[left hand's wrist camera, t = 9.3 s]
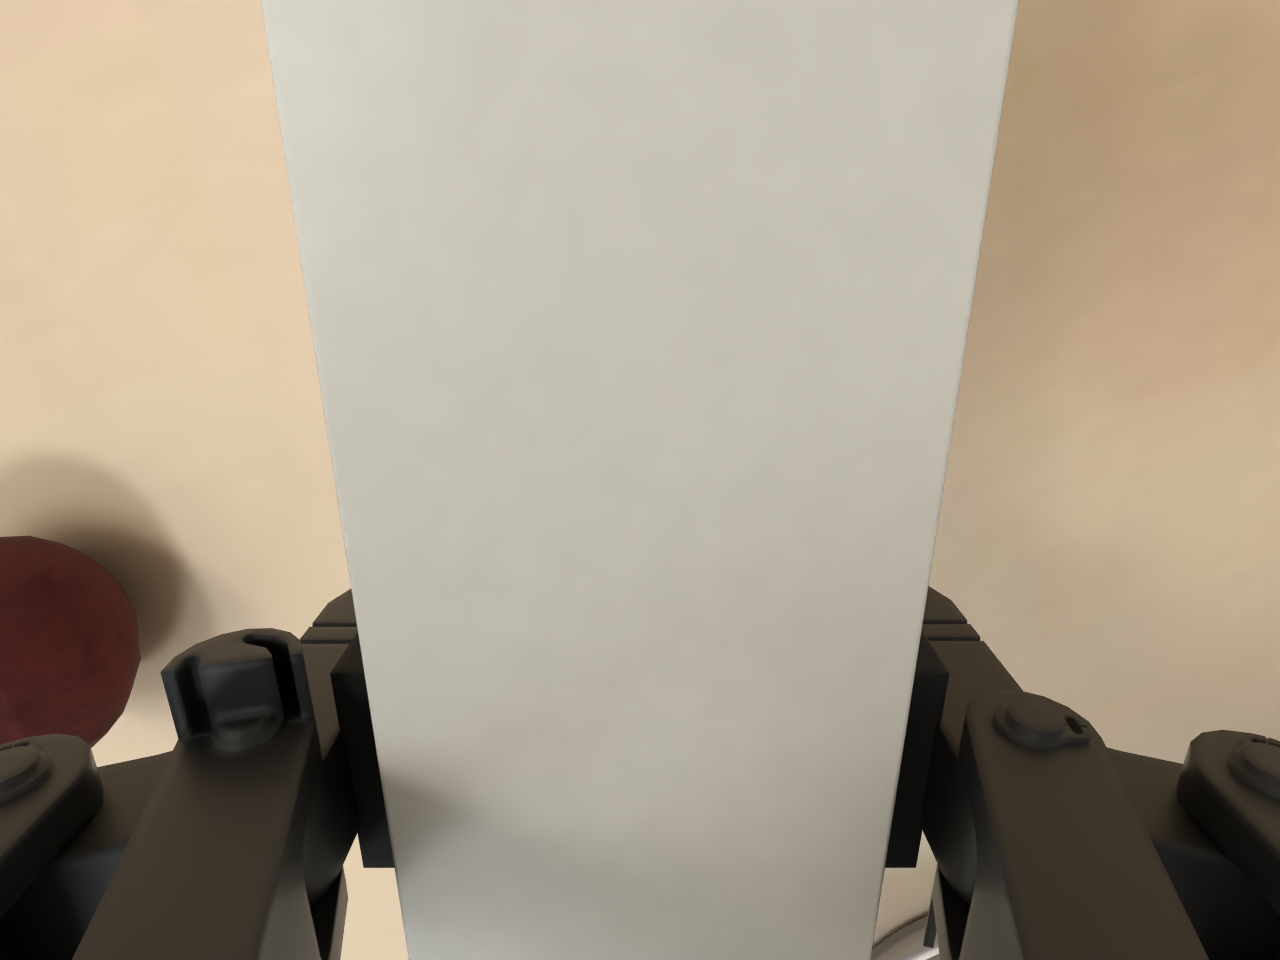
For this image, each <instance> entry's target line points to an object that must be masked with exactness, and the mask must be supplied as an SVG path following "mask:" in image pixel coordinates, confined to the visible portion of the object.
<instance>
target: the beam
mask: <svg viewBox="0 0 1280 960" xmlns="http://www.w3.org/2000/svg"><path fill="white" fill-rule="evenodd" d="M260 1H261V8H262V14H263V21H264V27H265V33H266V40H267V46H268V53H269V59H270V66H271V72H272V79H273V85H274V92H275V98H276V105H277V111H278V117H279V124H280V130H281V137H282V143H283V150H284V156H285V163H286V169H287V176H288V182H289V189H290V195H291V201H292V208H293V214H294V221H295V227H296V234H297V240H298V247H299V253H300V260H301V266H302V273H303V279H304V285H305V292H306V298H307V305H308V311H309V318H310V324H311V331H312V337H313V344H314V350H315V357H316V363H317V369H318V376H319V382H320V389H321V395H322V402H323V408H324V415H325V421H326V428H327V434H328V441H329V447H330V453H331V460H332V466H333V473H334V479H335V486H336V492H337V499H338V505H339V512H340V518H341V525H342V531H343V537H344V544H345V550H346V557H347V563H348V570H349V576H350V583H351V589H352V596H353V602H354V608H355V615H356V621H357V628H358V634H359V641H360V647H361V654H362V660H363V667H364V673H365V680H366V686H367V692H368V699H369V705H370V712H371V718H372V725H373V731H374V738H375V744H376V751H377V757H378V764H379V770H380V776H381V783H382V789H383V796H384V802H385V809H386V815H387V822H388V828H389V835H390V841H391V848H392V854H393V860H394V867H395V873H396V880H397V886H398V893H399V899H400V906H401V912H402V919H403V925H404V932H405V938H406V944H407V951H408V957H409V960H870V959H871V953H872V947H873V940H874V934H875V927H876V921H877V914H878V908H879V901H880V895H881V888H882V882H883V875H884V869H885V862H886V856H887V850H888V843H889V837H890V830H891V824H892V817H893V811H894V804H895V798H896V791H897V785H898V778H899V772H900V765H901V759H902V753H903V746H904V740H905V733H906V727H907V720H908V714H909V707H910V701H911V694H912V688H913V681H914V675H915V668H916V662H917V656H918V649H919V643H920V636H921V630H922V623H923V617H924V610H925V604H926V597H927V591H928V584H929V578H930V571H931V565H932V559H933V552H934V546H935V539H936V533H937V526H938V520H939V513H940V507H941V500H942V494H943V487H944V481H945V475H946V468H947V462H948V455H949V449H950V442H951V436H952V429H953V423H954V416H955V410H956V403H957V397H958V390H959V384H960V378H961V371H962V365H963V358H964V352H965V345H966V339H967V332H968V326H969V319H970V313H971V306H972V300H973V293H974V287H975V281H976V274H977V268H978V261H979V255H980V248H981V242H982V235H983V229H984V222H985V216H986V209H987V203H988V196H989V190H990V184H991V177H992V171H993V164H994V158H995V151H996V145H997V138H998V132H999V125H1000V119H1001V112H1002V106H1003V99H1004V93H1005V87H1006V80H1007V74H1008V67H1009V61H1010V54H1011V48H1012V41H1013V35H1014V28H1015V22H1016V15H1017V9H1018V2H1019V0H260Z"/></svg>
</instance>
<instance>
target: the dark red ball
mask: <svg viewBox="0 0 1280 960" xmlns="http://www.w3.org/2000/svg"><path fill="white" fill-rule="evenodd" d="M140 659H141V656H140V646H139V636H138V626H137V618H136V613H135V610H134V608H133V606H132V604H131V603H130V601H129V599H128V598H127V596H126V594H125V592H124V591H123V589H122V587H121V585H120V584H119V583H118V582H117V581H116V580H115V579H114V578H113V577H112V576H111V575H110V574H109V573H108V572H107V571H106V570H105V569H104V568H103V567H102V566H100V565H99V564H97V563H96V562H94V561H92V560H91V559H89V558H88V557H86V556H85V555H83V554H82V553H80V552H78V551H77V550H75V549H72V548H70V547H68V546H66V545H64V544H61V543H59V542H53V541H49V540H45V539H40V538H36V537H32V536H16V537H0V745H2V744H5V743H8V742H15V740H18V739H23V738H27V737H33V736H41V735H49V734H57V733H59V734H66V735H73V736H79V737H80V738H81V739H82V740H84V741H85V742H86V743H87V744H89V745H90V748H92V747H93V746H94V745H95V744H96V743H97V742H98V741H99V740H100V739H101V738H102V737H103V736H104V735H105V734H106V733H107V732H108V731H109V730H110V728H111V727H112V726H113V725H114V723H115V722H116V721H117V720H118V718H119V717H120V716H121V714H122V713H123V711H124V709H125V706H126V704H127V701H128V699H129V696H130V694H131V690H132V687H133V683H134V680H135V677H136V673H137V670H138V666H139V663H140Z"/></svg>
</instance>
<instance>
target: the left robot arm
mask: <svg viewBox="0 0 1280 960" xmlns="http://www.w3.org/2000/svg"><path fill="white" fill-rule="evenodd" d="M161 676H162V679H163V683H164V687H165V690H166V694H167V698H168V702H169V705H170V709H171V713H172V716H173V720H174V724H175V728H176V731H177V735H178V741H177V743H176V745H175V748H174V750H173V751H170V752H166V753H163V754H159V755H155V756H150V757H145V758H140V759H135V760H131V761H126V762H121V763H116V764H111V765H107V766H102V767H97V766H96V763H95V760H94V757H93V754H92V751H91V748H90V745H89V744H87V743H86V742H85V741H84V740H82V739H81V738H80V737H79V736H73V735H66V734H59V733H57V734H49V735H41V736H33V737H27V738H23V739H18V740H15V742H8V743H5V744H2V745H0V960H340V956H341V948H342V941H343V933H344V925H345V917H346V909H347V901H348V894H347V886H346V879H345V874H344V869H343V863H344V861H345V859H346V857H347V854H348V852H349V850H350V848H351V846H352V843H353V841H354V839H355V837H356V835H357V832H358V838H359V843H360V849H361V855H362V861H363V866H364V868H395V867H394V860H393V854H392V848H391V841H390V835H389V828H388V822H387V815H386V809H385V802H384V796H383V789H382V783H381V776H380V770H379V764H378V757H377V751H376V744H375V738H374V731H373V725H372V718H371V712H370V705H369V699H368V692H367V686H366V680H365V673H364V667H363V660H362V654H361V647H360V641H359V634H358V628H357V621H356V615H355V608H354V602H353V596H352V589H350V590H348V591H347V592H345V593H344V594H342V595H340V596H339V597H337V598H336V599H334V600H332V601H331V602H329V603H328V604H327V606H326V607H325V608H324V609H323V611H322V612H321V613H320V614H319V616H318V617H317V618H316V620H315V621H314V622H313V627H309V628H308V630H307V631H306V632H305V634H304V635H303V636H302V637H301V639H300V640H299V639H298V638H297V637H295V636H294V635H293V634H292V633H290V632H286V631H282V630H277V629H273V628H264V629H245V630H241V631H236V632H231V633H226V634H222V635H219V636H216V637H214V638H211V639H208V640H206V641H203V642H201V643H198V644H196V645H194V646H192V647H191V648H189V649H187V650H186V651H184V652H182V653H181V654H179V655H178V656H176V657H174V658H173V659H172V660H171V662H170V663H169V664H168V665H167V666H166V667H165V668H164V669H163V670H162V671H161ZM922 830H923V832H924V834H925V836H926V839H927V841H928V843H929V845H930V847H931V850H932V852H933V854H934V856H935V858H936V861H937V869H936V874H935V879H934V885H933V890H932V895H931V901H930V906H929V912H928V916H926V917H923V918H921V919H919V920H917V921H915V922H913V923H911V924H909V925H907V926H906V927H904V928H902V929H900V930H899V931H897V932H895V933H894V934H892V935H891V936H889V937H888V938H886V939H885V940H884V941H882V942H881V943H880V944H879V945H877V946H876V947H875V948H874V949H872V953H871V959H870V960H1280V741H1277V740H1274V739H1271V738H1269V739H1268V738H1265V736H1260V735H1256V734H1252V733H1244V732H1236V731H1228V730H1218V731H1211V732H1204V733H1201V734H1200V735H1199V736H1197V737H1196V738H1195V739H1194V740H1192V741H1191V742H1190V746H1189V749H1188V752H1187V755H1186V758H1185V761H1184V764H1180V763H1175V762H1170V761H1166V760H1161V759H1156V758H1151V757H1146V756H1141V755H1136V754H1132V753H1127V752H1122V751H1118V750H1115V749H1111V748H1107V747H1106V746H1105V744H1104V742H1103V740H1102V738H1101V737H1100V735H1099V734H1098V733H1097V732H1096V730H1095V729H1094V728H1093V727H1092V725H1091V724H1090V723H1089V722H1088V721H1087V720H1085V719H1084V718H1083V717H1081V716H1080V715H1078V714H1077V713H1076V712H1074V711H1073V710H1071V709H1070V708H1069V707H1066V706H1064V705H1062V704H1060V703H1057V702H1055V701H1053V700H1051V699H1048V698H1046V697H1044V696H1039V695H1035V694H1031V693H1027V692H1023V690H1022V689H1021V688H1020V686H1019V685H1018V684H1017V683H1016V681H1015V680H1014V679H1013V678H1012V676H1011V675H1010V674H1009V673H1008V671H1007V670H1006V669H1005V668H1004V666H1003V665H1002V664H1001V663H1000V661H999V660H998V659H997V657H996V656H995V655H994V654H993V652H992V651H991V650H990V649H989V647H988V646H987V645H986V644H985V642H984V641H980V636H979V635H978V633H977V632H976V631H975V630H974V628H973V627H972V626H971V625H970V624H967V620H966V618H965V617H964V616H963V615H962V613H961V612H960V611H959V610H958V608H957V607H956V606H955V604H954V603H953V602H952V601H951V600H950V599H948V598H947V597H945V596H943V595H942V594H940V593H939V592H937V591H935V590H934V589H932V588H931V587H929V586H928V591H927V597H926V604H925V610H924V617H923V623H922V630H921V636H920V643H919V649H918V656H917V662H916V668H915V675H914V681H913V688H912V694H911V701H910V707H909V714H908V720H907V727H906V733H905V740H904V746H903V753H902V759H901V765H900V772H899V778H898V785H897V791H896V798H895V804H894V811H893V817H892V824H891V830H890V837H889V843H888V850H887V856H886V862H885V868H916V863H917V858H918V852H919V846H920V840H921V835H922Z"/></svg>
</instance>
